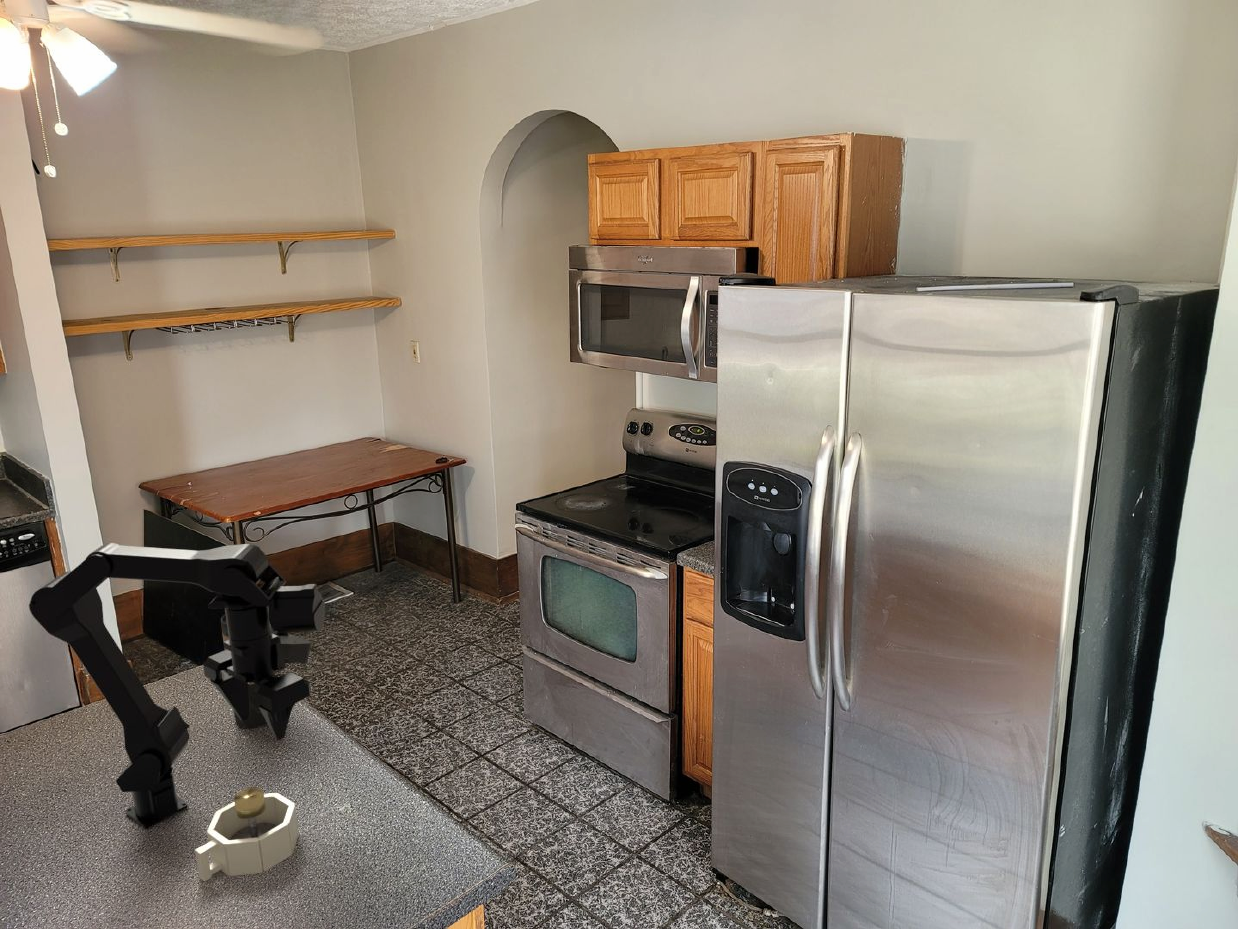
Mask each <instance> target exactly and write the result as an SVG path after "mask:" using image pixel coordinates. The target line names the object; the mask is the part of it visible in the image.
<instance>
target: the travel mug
mask: <svg viewBox="0 0 1238 929" xmlns="http://www.w3.org/2000/svg"><path fill="white" fill-rule="evenodd" d="M220 624H221V634H222V639H223V642H225V641H227V640H229V635H228V628H227V620H226V613H225V614H224V615H222V617H221V618H220ZM223 642H222V643H223ZM223 648H224V647H223ZM225 650H227V649H225V648H224V650H223V651H225ZM275 672H276V671H274V675H276V673H275ZM260 687H261V686H259V685H257V684H255V683H253V682H252V683H250V684H249V718H248V719H247V720H245V721H242V720H241V719H240V718H239V717H238V715H237V714H236V713H235V711H234V710H233V715H234V721H235V724H236V725H237V726H238V728H242V729H257V728H261V727H265V726H268V724H267V722H266V720H265V718H264V716H263V714H262V712H261V710H260V709H259V705H261V703H260V702H259V700H258V695H257V692H258V690H259V689H260Z"/></svg>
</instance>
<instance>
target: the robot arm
mask: <svg viewBox="0 0 1238 929" xmlns="http://www.w3.org/2000/svg"><path fill="white" fill-rule="evenodd" d="M108 578H109V579H124V580H140V581H156V582H169V583H170V582H171V583H182V584H183V583H184V584H193V585H197V586H200V587H202V588H204V589H206V590H207V591H209V592H212V593H216V596H214V598H213V599H212V601H211V602H209V603H208V604H207V607H208V609H211V610H213V609H218V610H219V609H224V613H225V614H226V620H227V628H228V635H229V640H227V641H225V642H222V643H223V648H225V649H227V650H222V651H220V652H218V653H215V654H212V655H210V656H208V657H207V659H206V660H205V661H204V663H203V665H202V666H203V671H204V673H203V674H204V677H206V678H208V679H210V680H209V681H210V683H211V684H212V685H213V686H214V687H215V688H216V690H218V693H220V694H221V696H222V697H223V698H224V700H225V702H227V703H228V705H229V706H230V708H231V709H232V710H233V712H234V711H235V713H236V714H237V715H238V717H239V718H240V719H241V720H242V721H245V720H247V719H248V718H249V684H250V683H252V682H253V683H255V684H257V685H259V686H261V687H260V689H259V690H258V692H257V695H258V700H259V702H260V703H261V705H259V709H260V710H261V712H262V714H263V716H264V718H265V720H266V722H267V726H268V728H269V730H270V731H271V733H272V735H273V737H274V738H275V740H276V741H281V740H282V739H284V738H285V737H286V733H287V728H288V726H289V725H288V724H289V720H290V717H291V714H292V710H293V708H294V706H295V705H296V703H300V702H301V701H303V700H304V699H307V698H308V697H310V696H311V694H312V691H311V683H310V680H307V679H306V678H303V677H301V676H299V675H297V674H295V673H294V672H293V673H292V672H291V671H288V672H286V673H284V674H282V675H279V676H278V675H276V674H275V675H274V672H276V671H277V672H279V671H282V670H284V669H286V667H287V665H286V664H301V665H304V664H308V663H309V662H308V661H309V657H310V651H311V647H312V642H311V641H309V640H307V639H305V638H302V637H299V636H297V635H293V634H289V633H309V632H310V633H312V632H313V633H314V632H321V631H322V630H323V627H324V624H325V620H326V618H325V617H326V604H325V603H326V602H325V599H324V598H323V596H322V594H321V592H320V591H319V588H318V587H319V586H318V585H317V583H310V584H305V585H287V586H284V585H285V584H286V582H287V581H286V580H287V579H286V578H285V577H284V576H282V574H281V573H280V572H279V571H278V570H277V569H276V568H275V567H274V566H273V565H272V564H271V563H270V562H269V560H268V557H267V555H266V553H265V552H264V551H262V550H261V548H260V547H259V546H257V545H255V544H252V543H244V544H243V543H241V544H234V545H233V544H230V545H223V546H219V547H215V548H211V549H204V550H195V549H194V550H193V549H177V548H163V547H162V548H161V547H148V546H134V545H121V544H118V543H115V542H111V543H110V542H109V543H105V544H103V545H100V546H99V547H98V548H96V549H95V550H93V551H92V552H90V553H89V554H88V555H86V557H85V559H84V560H83V561H82V562H81V563H80V564H79V565H78V566H76V567H75V568H73V570H71V571H65V572H63V573H61V574H60V575H58V576H57V577H55V578H54V579H52V580H51V581H49V582H48V583H46V584H45V585H44V586H41V587H40V588H39V589H38V590H36V591H34V593H32V596H31V597H30V598H31V599H30V601H29V604H28V607H29V608H28V609H29V612H30V613H31V615H32V617H33V618H34V619H35V620H36V621H37V623H38V624H39V625H40V626H41V627H42V628H43V629H44V630H45V631H46V632H47V634H49V635H51V636H53V637H55V638H57V639H59V640H61V641H62V642H64V643H67V644H68V645H69V646H70V647H71V649H72V651H73V652H74V653H75V655H76V656H77V658H78V660H79V661H80V662H81V664H82V665H83V667H84V669H85V670H86V672H87V674H88V675H89V676H90V678H91V679H92V681H93V682H94V685H96V687H97V688H98V690H99V691H100V693H101V695H102V696H103V697H104V699H105V701H106V703H108V705H109V707H110V708H111V710H112V712H113V713H114V715H115V716H116V717H117V719H118V721H119V722H120V723H121V726H122V732H123V742H124V750H125V753H126V755H127V757H128V759H129V762H130V763H129V764H128V765H127V766H126V767H125V769H124V770H123V771H122V772H121V773H120V774H119V776H118V777H117V779H116V780H115V782H116V784H117V786H118V787H119V789H120V791H121V792H122V793H130V792H131V795H132V796H131V797H132V801H133V802H132V803H133V805H132V806H130V807H129V808H127V809H126V810H125V814H126V815H127V816H128V817H130V818H131V819H132V820H133V821H135V822H136V823H138V825H140V826H142V827H143V828H144V829H149V828H151V827H153V826H155V825H157V824H159V823H160V822H162V821H164V820H166V819H169V818H170V817H172V816H174V815H176V814H178V813H180V812H181V811H183V810H185V809H187V808H188V807H189V805H188V802H187V801H185V800H184V799H181V798H180V797H179V796H178V795H177V790H176V783H175V777H174V772H173V771H174V770H173V765H174V764H175V763H176V761H177V760H179V757H180V756H181V755H182V753H183V752H184V750H186V748H187V746H188V744H189V740H190V732H189V728H190V725H189V724H188V723H187V722H186V721H185V720H184V719H183V717H182V716H181V713H180V711H179V709H178V708H177V707H176V706H172V707H171V708H169V709H165V708H163V707H161V706H159V705H158V704H156V703H155V702H154V700H153V699H152V697H151V696H150V694H149V692H148V691H147V689H146V687H145V686H144V684H143V683H142V681H141V680H140V679H139V677H138V675H137V673H136V672H135V671H134V669H133V667H132V665H130V663H129V661H128V660H127V658H126V657H125V655H124V654H123V652H122V650H121V649H120V647H119V646H118V644H117V643H116V641H115V639H114V638H113V635H111V633H110V632H109V630H108V629H107V626H106V625H105V622H104V609H103V601H102V598H101V596H100V593H99V591H98V589H97V588H98V587H99V586H100V585H102V584H103V583H104V582H105V581H106V580H108ZM259 582H263V583H264V584H262V586H261V587H260V586H259V585H258V584H259Z"/></svg>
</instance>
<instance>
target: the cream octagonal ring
mask: <svg viewBox="0 0 1238 929" xmlns="http://www.w3.org/2000/svg"><path fill="white" fill-rule="evenodd" d="M264 799H265V810H264V811H263V812H262V813H261V814H260V815H258V816H256V822H257V823H272V824H275V825H277V827H275V828H273V829H272V830H270V831H268V832H267V833H265V834H263V835H261V836H260V837H257V838H248V839H238V840H230V838H231V837H232V836H233V835H234V834H235V833H236V832H237V831H239V830H240V829H242V828H244V827H247V826H249V821H248V819H242V818H239V817H237V815H236V808H235V801H233V802H230V803H229V804H227V805H226V806H224V807H222V808H220V809H218V810H217V811H216V812H215V813H214V815H213V817H212V819H211V822H210V824H209V826H208V828H207V830H206V833H207V840H208V841H207V843H205V844H203V845H201V846H199V847H197V848H195V849H194V852H195V853H194V854H195V860H196V867H197V871H198V878H199V880H202V881H203V882H206V881H209V880H210V879H211V878H213V875H215V874H217V873H218V872H223V873H224V874H225V875H226V876H228V877H235V876H243V875H254V874H262V873H265V872H267V871H268V870H270V869H272V868H274V867H275V866H277V865H278V864H279V863H281V862H283V861H284V860H286V859H287V858H289V857H291V856H292V855H293V853H294V851H295V849H296V848H295V847H296V844H297V840H298V838H299V835H300V834H299V826H298V819H297V811H296V804H295V803H294V802H293V801H292V800H290V799H288V798H287V797H285V796H283V795H282V794H280V793H277V792H273V793H264ZM209 855H210V858H209ZM210 861H211V863H210Z"/></svg>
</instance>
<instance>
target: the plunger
mask: <svg viewBox="0 0 1238 929" xmlns="http://www.w3.org/2000/svg"><path fill="white" fill-rule="evenodd" d="M264 794H265V793H264V789H263V788H261V787H258V786H252V787H246V788H243V789H241V790H240V791H238V792H237V793H236V794H235V796H234V798H233V800H234V801H233V802H235V808H236V815H237V817H239V818H242V819H248V821H249V826H247V827H244V828H242V829H240V830H239V831H237V832H236V833H235V834H234V835H233V836H232V837H231V838H230V840H238V839H248V838H257V837H260V836H261V835H263V834H265V833H267V832H268V831H270V830H272V829H273V828H275V827H277V825H275V824H272V823H257V822H256V816H258V815H260V814H261V813H262V812H263V811H264V810H265V799H264Z"/></svg>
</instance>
